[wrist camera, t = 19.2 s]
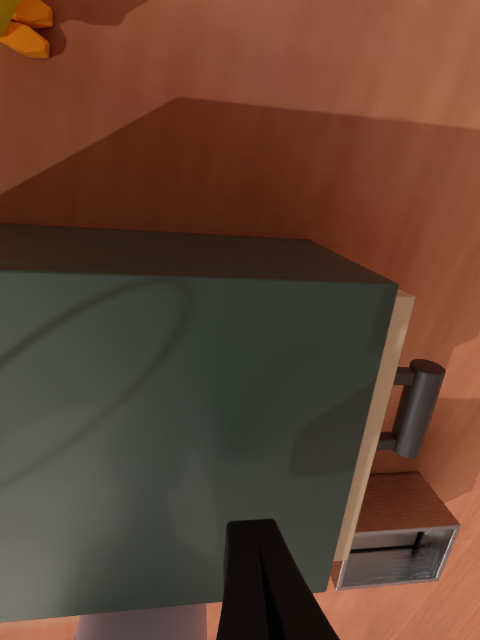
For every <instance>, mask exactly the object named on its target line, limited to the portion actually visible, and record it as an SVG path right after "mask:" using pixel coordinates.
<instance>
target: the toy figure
mask: <svg viewBox="0 0 480 640" xmlns="http://www.w3.org/2000/svg"><path fill="white" fill-rule="evenodd" d="M11 19H14V20H16V21H18V22H20V23H17V22H10V21H11ZM21 23H22V24H21ZM30 27H32V28H36V29H37V28H46V27H53V11H52V9H51V8H50V7H49V6H47V5H46V4H45V3H43V2H42V1H41V0H0V42H1V43H3V44H5V45H7V46H8V47H10V48H12V49H13V50H15V51H17V52H19V53H20V54H22V55H25V56H27V57H30V58H49V52H50V43H49V42H48V41H47V40H45V39H44V38H43V37H42V36H40V35H39V34H38V33H37V32H35V31H34V30H33V29H32V28H30Z"/></svg>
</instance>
